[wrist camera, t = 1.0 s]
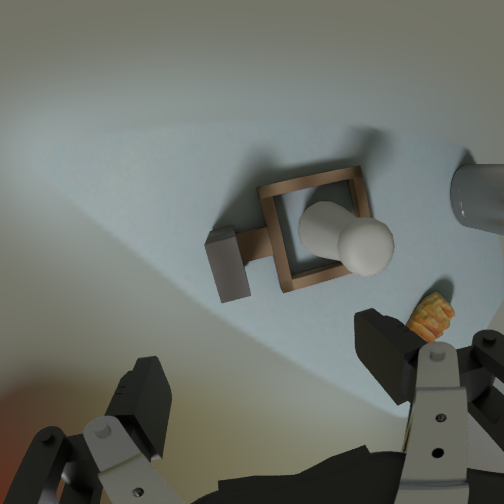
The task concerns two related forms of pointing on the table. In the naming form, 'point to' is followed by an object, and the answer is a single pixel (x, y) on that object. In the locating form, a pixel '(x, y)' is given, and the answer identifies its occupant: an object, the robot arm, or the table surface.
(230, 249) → the frame
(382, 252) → the salt shaker
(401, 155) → the table surface
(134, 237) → the table surface
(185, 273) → the table surface
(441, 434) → the robot arm
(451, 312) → the pastry
